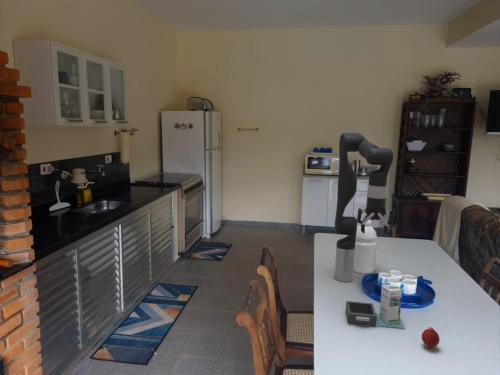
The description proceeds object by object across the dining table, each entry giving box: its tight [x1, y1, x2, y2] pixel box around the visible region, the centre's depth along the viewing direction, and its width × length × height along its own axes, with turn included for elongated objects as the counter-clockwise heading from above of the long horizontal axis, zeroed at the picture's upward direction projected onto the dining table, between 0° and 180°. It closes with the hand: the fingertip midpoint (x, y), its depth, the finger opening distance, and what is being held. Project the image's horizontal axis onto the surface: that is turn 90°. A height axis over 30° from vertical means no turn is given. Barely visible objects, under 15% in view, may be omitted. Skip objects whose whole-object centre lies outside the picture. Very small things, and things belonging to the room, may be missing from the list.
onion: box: [421, 326, 440, 349], centre depth 134 cm, size 6×6×8 cm
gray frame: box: [344, 300, 378, 328], centre depth 153 cm, size 12×11×4 cm
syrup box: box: [379, 283, 403, 324], centre depth 151 cm, size 6×6×14 cm
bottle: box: [353, 218, 378, 275], centre depth 203 cm, size 14×14×28 cm
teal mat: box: [376, 312, 406, 330], centre depth 152 cm, size 10×10×1 cm
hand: (373, 233), depth 157 cm, fingers open, 8 cm apart
